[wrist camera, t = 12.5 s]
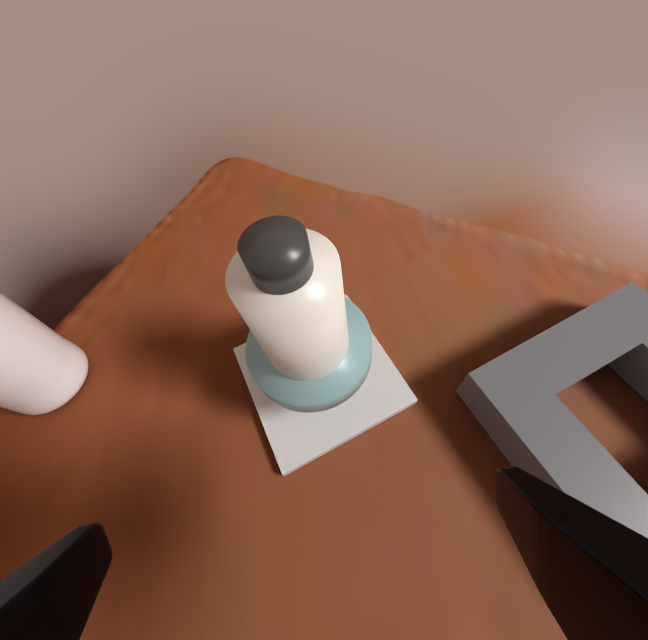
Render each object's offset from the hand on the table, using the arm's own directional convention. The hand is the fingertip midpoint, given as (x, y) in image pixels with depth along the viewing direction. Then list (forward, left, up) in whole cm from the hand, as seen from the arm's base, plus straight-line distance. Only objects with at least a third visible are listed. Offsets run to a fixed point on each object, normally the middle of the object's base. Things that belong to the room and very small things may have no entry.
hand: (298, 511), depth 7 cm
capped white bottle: (+3, +7, -11) cm, 14 cm away
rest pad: (+3, +7, -12) cm, 15 cm away
